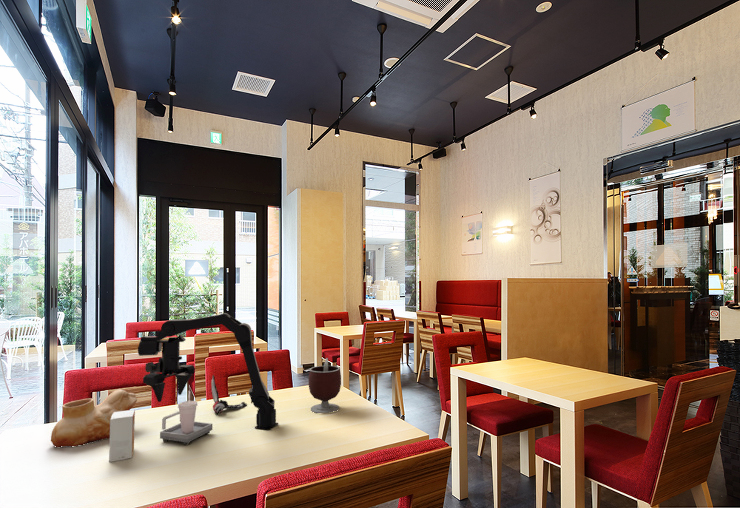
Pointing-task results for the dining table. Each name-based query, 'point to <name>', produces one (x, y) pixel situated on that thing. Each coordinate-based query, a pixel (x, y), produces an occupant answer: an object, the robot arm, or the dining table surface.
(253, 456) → the dining table surface
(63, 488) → the dining table surface
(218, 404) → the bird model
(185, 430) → the smoothie
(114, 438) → the small box
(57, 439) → the ceramic vessel
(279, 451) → the dining table surface
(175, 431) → the grey tray
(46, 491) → the dining table surface
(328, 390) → the mate gourd
